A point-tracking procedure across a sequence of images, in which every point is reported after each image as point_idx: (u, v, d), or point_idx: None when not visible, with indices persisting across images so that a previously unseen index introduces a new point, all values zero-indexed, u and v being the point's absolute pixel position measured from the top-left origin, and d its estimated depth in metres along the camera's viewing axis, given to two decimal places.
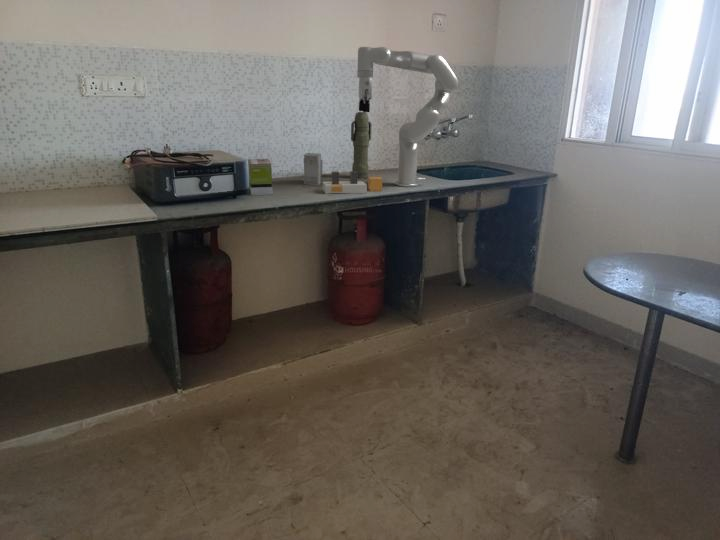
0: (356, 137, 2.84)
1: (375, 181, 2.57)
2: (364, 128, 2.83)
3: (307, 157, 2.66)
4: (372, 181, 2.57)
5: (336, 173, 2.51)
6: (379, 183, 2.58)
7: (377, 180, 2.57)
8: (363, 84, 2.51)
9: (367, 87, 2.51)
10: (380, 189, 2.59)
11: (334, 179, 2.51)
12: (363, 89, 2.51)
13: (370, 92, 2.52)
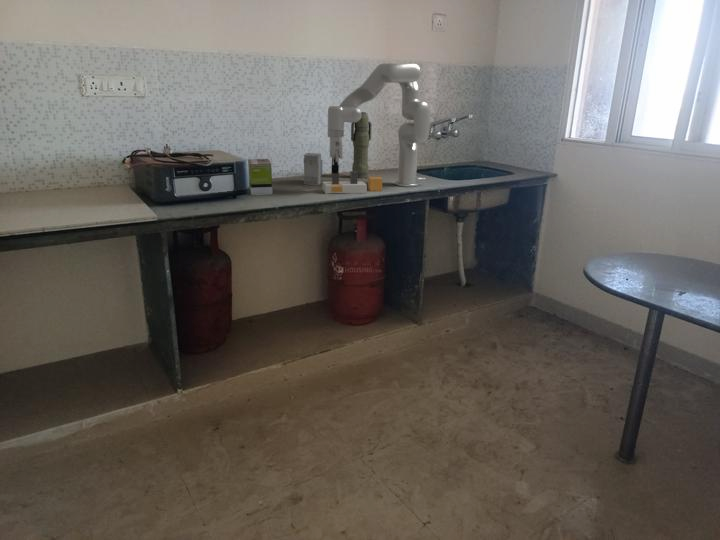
0: (356, 137, 2.84)
1: (375, 181, 2.57)
2: (364, 128, 2.83)
3: (307, 157, 2.66)
4: (372, 181, 2.57)
5: (336, 174, 2.51)
6: (379, 183, 2.58)
7: (377, 180, 2.57)
8: (333, 144, 2.43)
9: (337, 147, 2.43)
10: (380, 189, 2.59)
11: (334, 180, 2.52)
12: (333, 149, 2.43)
13: (340, 152, 2.44)
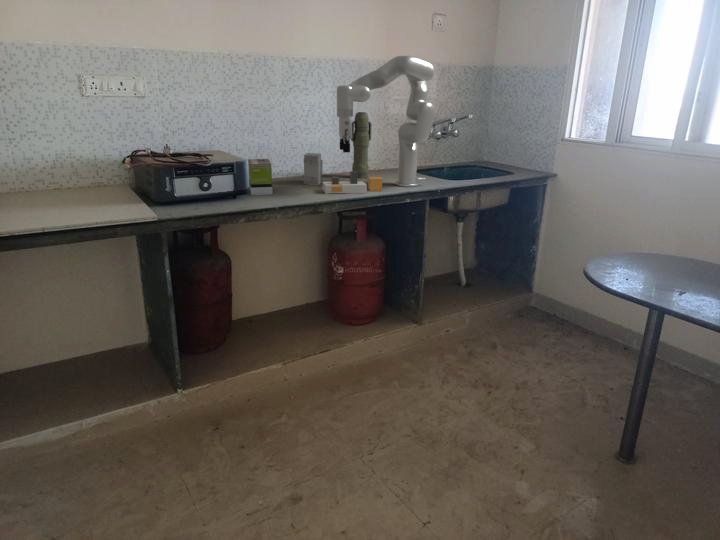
0: (356, 137, 2.84)
1: (375, 181, 2.57)
2: (364, 128, 2.83)
3: (307, 157, 2.66)
4: (372, 181, 2.57)
5: (336, 178, 2.51)
6: (379, 183, 2.58)
7: (377, 180, 2.57)
8: (343, 124, 2.41)
9: (346, 127, 2.41)
10: (380, 189, 2.59)
11: None
12: (343, 129, 2.42)
13: (350, 132, 2.43)
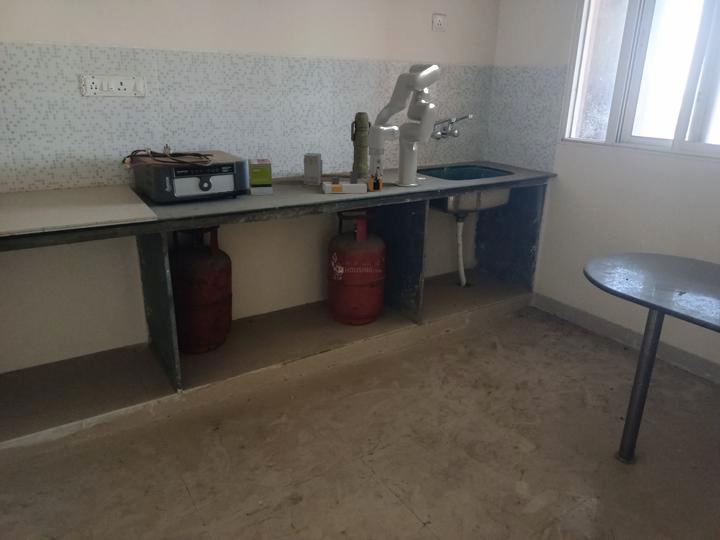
0: (356, 137, 2.84)
1: None
2: (364, 128, 2.83)
3: (307, 157, 2.66)
4: (372, 181, 2.57)
5: (336, 178, 2.51)
6: None
7: None
8: (374, 162, 2.53)
9: (378, 165, 2.53)
10: (380, 189, 2.59)
11: None
12: (374, 167, 2.53)
13: (381, 170, 2.54)
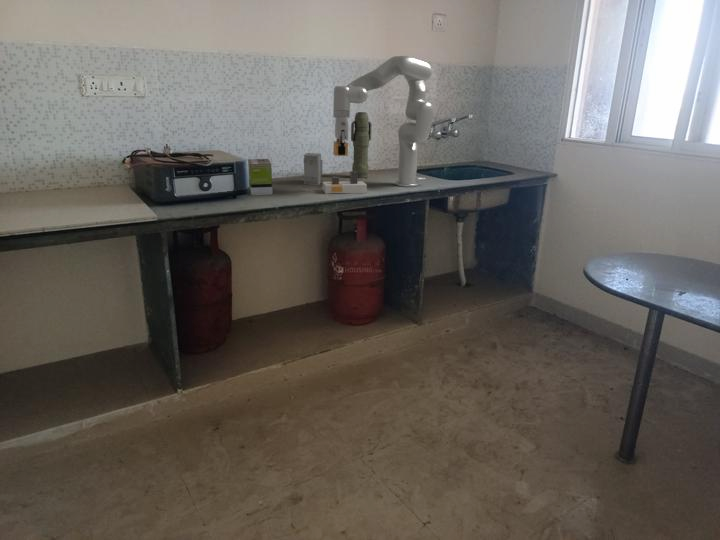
0: (356, 137, 2.84)
1: None
2: (364, 128, 2.83)
3: (307, 157, 2.66)
4: (337, 145, 2.45)
5: (336, 178, 2.51)
6: (345, 148, 2.46)
7: None
8: (339, 124, 2.41)
9: (343, 127, 2.41)
10: (346, 154, 2.47)
11: None
12: (339, 130, 2.41)
13: (346, 133, 2.42)
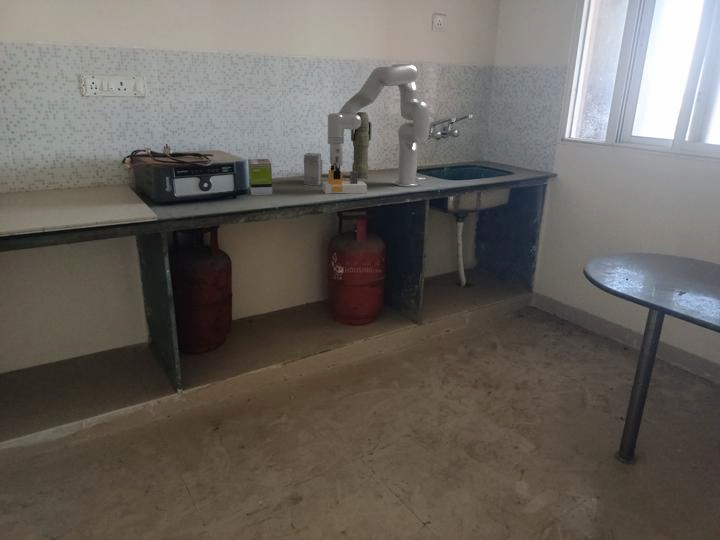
0: (356, 137, 2.84)
1: None
2: (364, 128, 2.83)
3: (307, 157, 2.66)
4: (332, 174, 2.49)
5: None
6: None
7: None
8: (333, 151, 2.44)
9: (337, 154, 2.44)
10: (340, 183, 2.51)
11: None
12: (333, 156, 2.44)
13: (341, 159, 2.45)
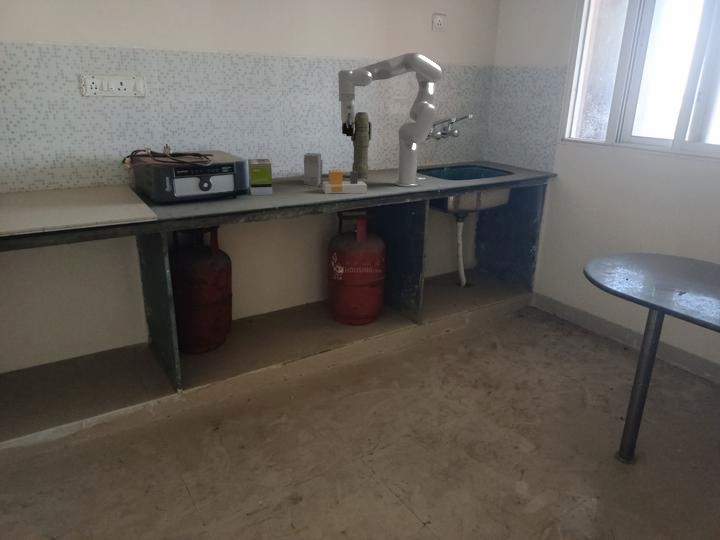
0: (356, 137, 2.84)
1: (335, 174, 2.49)
2: (364, 128, 2.83)
3: (307, 157, 2.66)
4: (332, 174, 2.49)
5: None
6: (339, 177, 2.50)
7: (337, 173, 2.49)
8: (345, 108, 2.46)
9: (349, 111, 2.46)
10: (340, 183, 2.51)
11: None
12: (345, 113, 2.46)
13: (353, 116, 2.47)
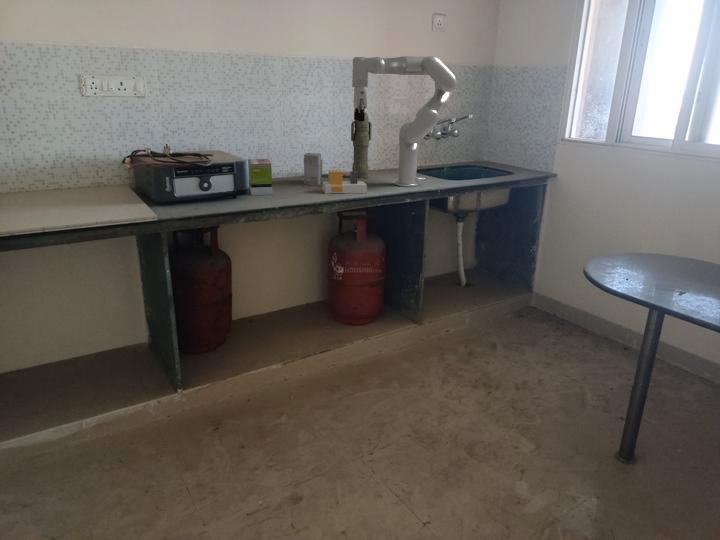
0: (356, 137, 2.84)
1: (335, 174, 2.49)
2: (364, 128, 2.83)
3: (307, 157, 2.66)
4: (332, 174, 2.49)
5: None
6: (339, 177, 2.50)
7: (337, 173, 2.49)
8: (358, 94, 2.54)
9: (361, 96, 2.54)
10: (340, 183, 2.51)
11: None
12: (358, 98, 2.54)
13: (365, 101, 2.55)
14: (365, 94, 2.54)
